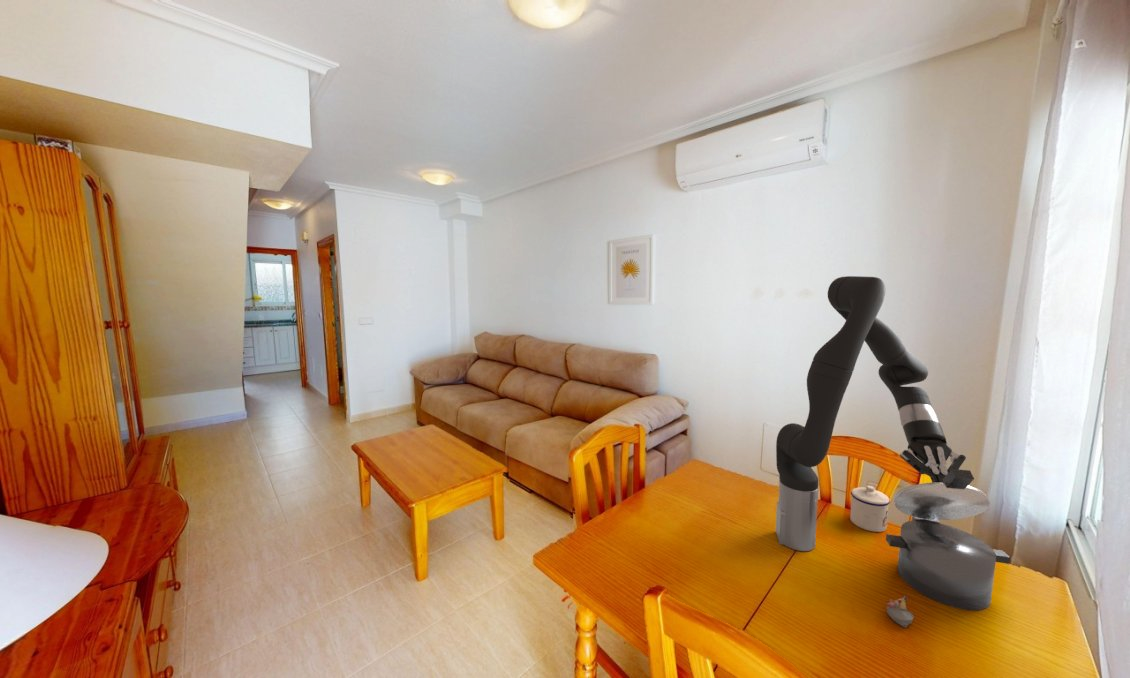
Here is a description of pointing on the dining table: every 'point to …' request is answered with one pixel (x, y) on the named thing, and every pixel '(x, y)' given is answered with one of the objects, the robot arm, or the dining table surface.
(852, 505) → the white lidded canister
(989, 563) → the pot
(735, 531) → the dining table surface
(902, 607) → the figurine
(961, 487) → the lid
